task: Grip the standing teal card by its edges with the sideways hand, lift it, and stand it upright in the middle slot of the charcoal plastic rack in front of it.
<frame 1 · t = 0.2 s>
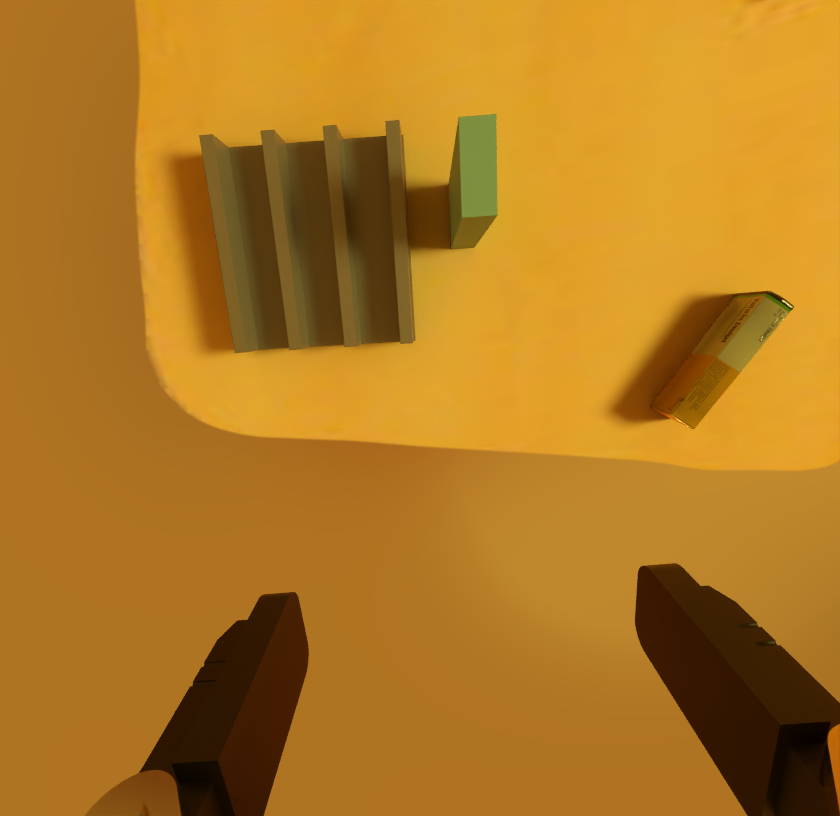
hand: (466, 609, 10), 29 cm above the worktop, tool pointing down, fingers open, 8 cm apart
medication box: (698, 357, 37), on the worktop
rack: (322, 250, 35), on the worktop
card: (461, 216, 34), on the worktop
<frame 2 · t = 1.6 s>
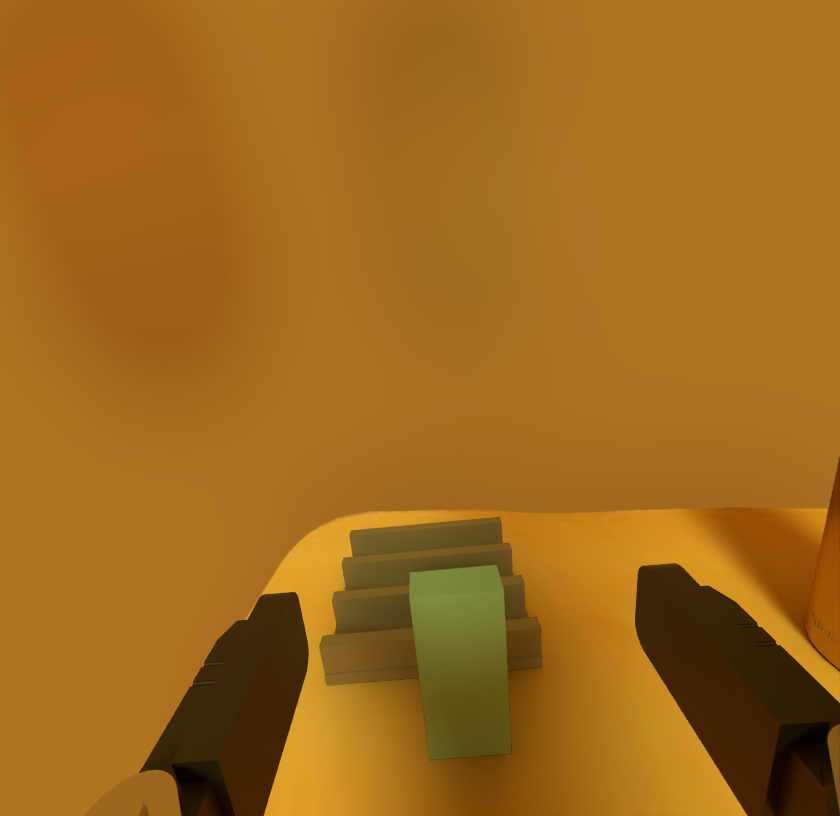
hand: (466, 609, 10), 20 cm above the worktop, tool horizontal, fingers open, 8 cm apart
rack: (430, 601, 37), on the worktop
card: (468, 739, 26), on the worktop
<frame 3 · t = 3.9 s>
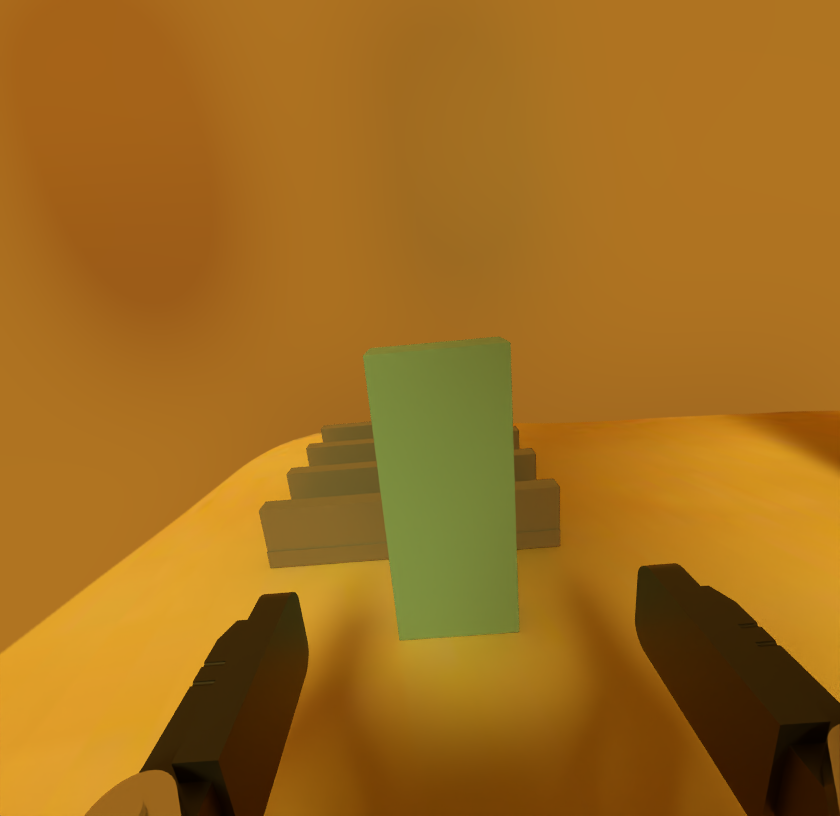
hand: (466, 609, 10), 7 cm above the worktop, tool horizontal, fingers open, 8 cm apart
rack: (415, 493, 29), on the worktop
card: (457, 617, 18), on the worktop
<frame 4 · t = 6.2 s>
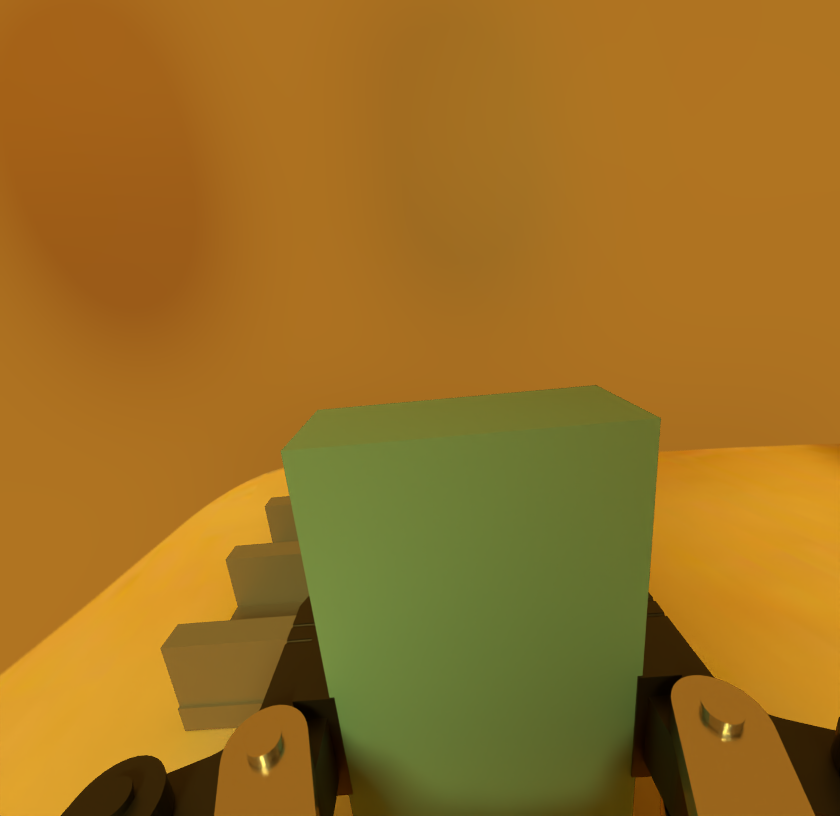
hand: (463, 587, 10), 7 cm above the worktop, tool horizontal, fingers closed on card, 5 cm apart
rack: (416, 571, 21), on the worktop
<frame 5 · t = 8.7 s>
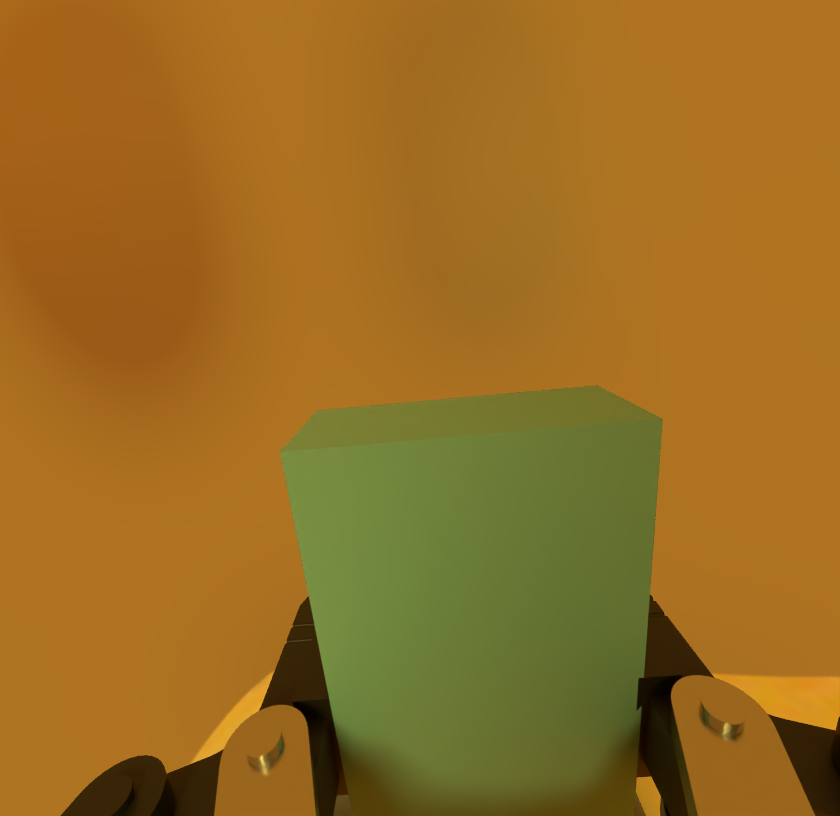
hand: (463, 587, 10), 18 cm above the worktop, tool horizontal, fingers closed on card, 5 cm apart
when the fingers open (9 cm above the worktop, at t = 11.5 s): card drops 1 cm, resting on rack.
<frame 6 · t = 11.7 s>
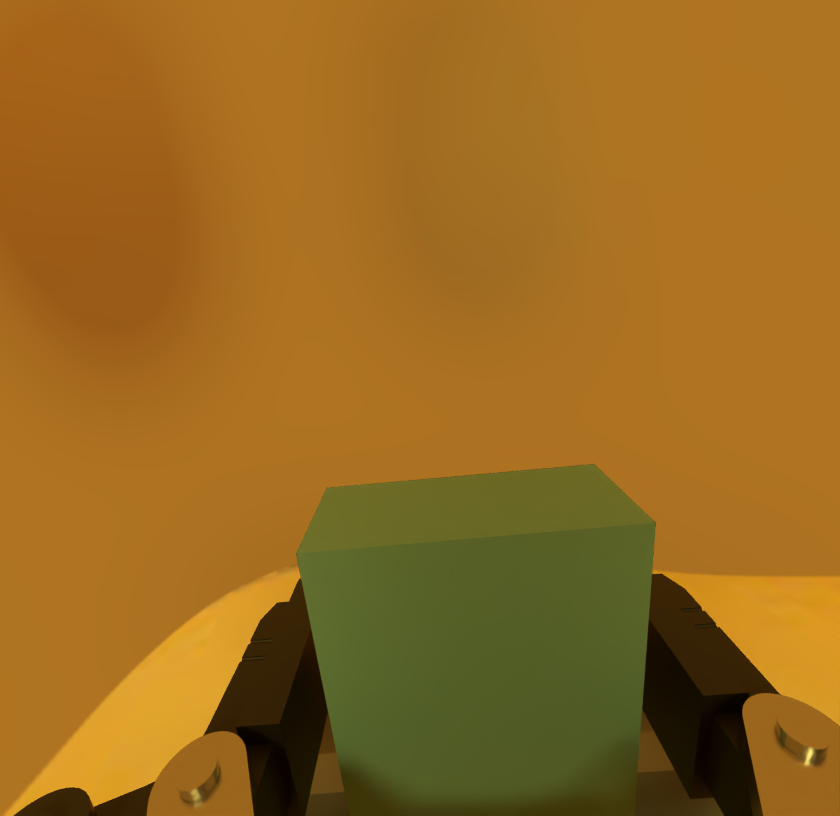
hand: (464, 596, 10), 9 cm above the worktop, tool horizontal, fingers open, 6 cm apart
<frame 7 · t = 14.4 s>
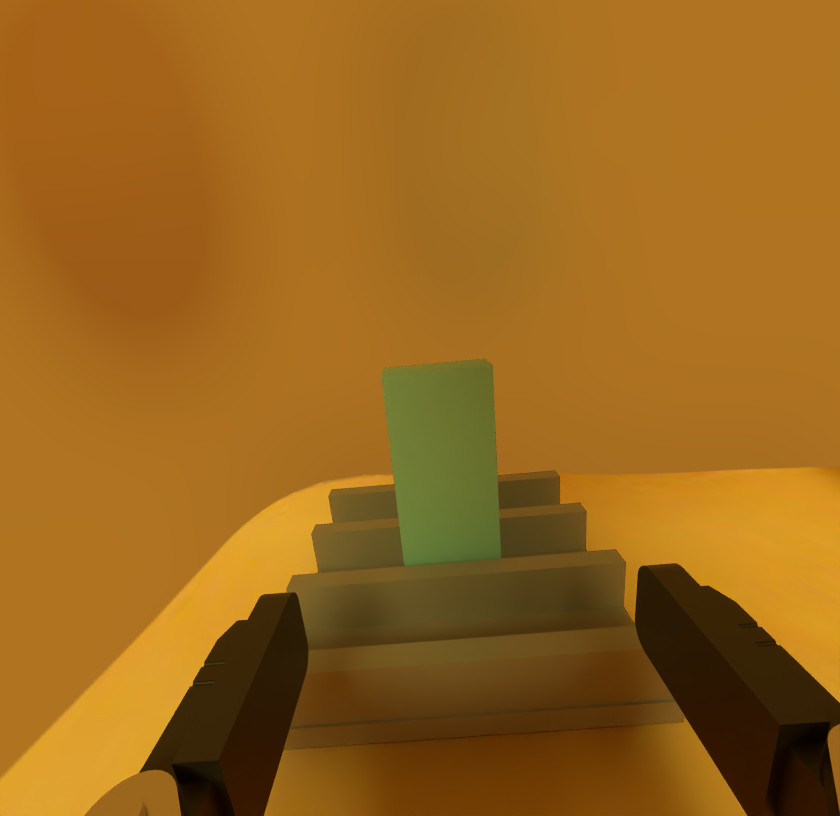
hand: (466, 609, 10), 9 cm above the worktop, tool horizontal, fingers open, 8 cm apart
rack: (454, 595, 23), on the worktop
card: (453, 581, 22), point 1 cm above the worktop, touching rack
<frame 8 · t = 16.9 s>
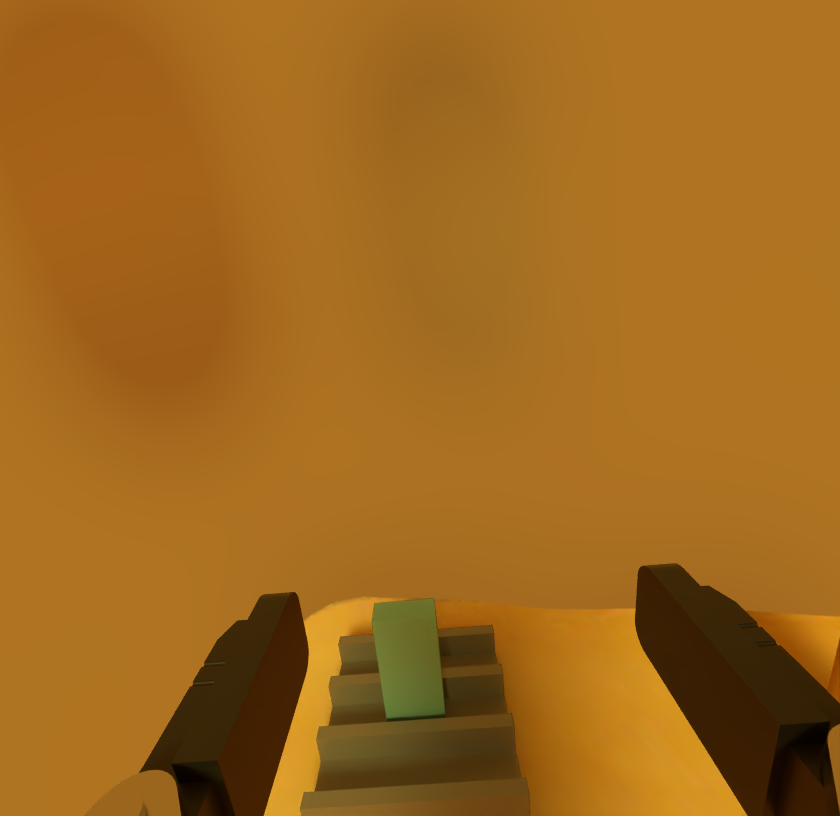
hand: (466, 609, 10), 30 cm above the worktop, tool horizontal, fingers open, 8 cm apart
rack: (418, 729, 36), on the worktop
card: (417, 721, 36), point 1 cm above the worktop, touching rack
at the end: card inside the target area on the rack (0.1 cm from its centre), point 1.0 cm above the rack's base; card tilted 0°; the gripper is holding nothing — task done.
